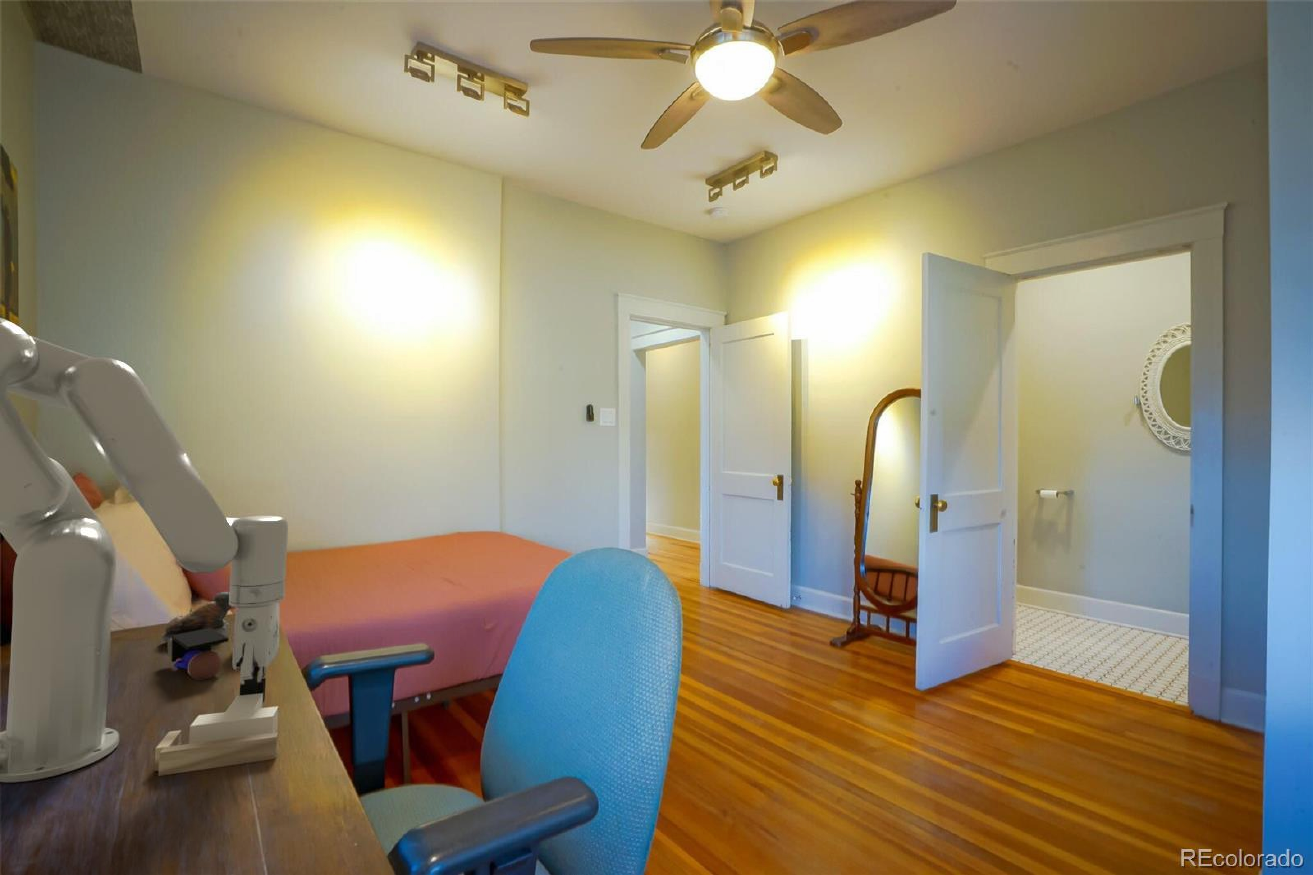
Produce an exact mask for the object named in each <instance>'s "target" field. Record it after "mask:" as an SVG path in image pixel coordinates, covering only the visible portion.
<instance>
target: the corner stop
mask: <svg viewBox="0 0 1313 875" xmlns="http://www.w3.org/2000/svg"><path fill="white" fill-rule="evenodd" d="M279 733H280V732H279V731H276V732H275V733H267V734H260V735H252V736H244V737H237V738H229V739H222V740H214V741H207V742H199V743H192V744H189V743H186V744H182V742H181V741H182V729H181V730H173V731H168V732H167V733H166V735H165V736H164V737H163V739H161V741H160V742H159V743H158V744H157V746H156V747H155V753H154V770H153V771H154V772H157V771H158V777H159V776H168V775H174V774H179V773H180V774H181V773H185V772H186V773H187V772H195V771H200V770H208V769H215V768H222V767H227V766H236V765H241V764H249V763H256V762H261V761H262V762H263V761H270V760H275V759H276V758H277V756H276V755H278V754H279V753H278V752H279V751H278V749H279Z"/></svg>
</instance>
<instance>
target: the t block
mask: <svg viewBox="0 0 1313 875" xmlns="http://www.w3.org/2000/svg"><path fill="white" fill-rule="evenodd" d="M262 703H263V704H264V702H263V693H260V694H251V695H241V696H240V695H236V697H235V698H234V699H233V701H232V703H230V705H229V707H228V708H227V709H226V711H222V712H215V713H207V714H199V715H198V716H197V717H196V718H195V720H194V721H193V722H192V723H191V724H190V725H189V737H188V738H189V739H188V740H189V742H188V744H192V743H199V742H207V741H214V740H222V739H229V738H237V737H244V736H252V735H260V734H267V733H275V732H278V721H279V719H278V718H279V705H278V706H277V705H276V706H268V707H263V704H262Z"/></svg>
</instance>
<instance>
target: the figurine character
mask: <svg viewBox="0 0 1313 875" xmlns="http://www.w3.org/2000/svg"><path fill="white" fill-rule="evenodd" d="M227 642H229V637H227V636H226V635H222V634H220V633H219V632H217V631H215V630H213V629H212V628H207V629H202V630H197V631H192V632H187V633H182V634H178V635H173V636H172V638H171V639H169V640H168V642H167V653H168V656H169V657H170V658H171V663H173V667H174V668H180V669H181V668H182V669H184V670H186V669H187V673H188V674H189V676H190V677H191V678H193V679H195V680H199V681H200V680H201V681H202V680H203V681H204V680H208V679H210V678H211V679H212V678H213V677H214V676H215V675H217V674H218V673H219V672H220V670H221V669H222V667H223V662H224V660H223V657H222V655H221V654H220V653H219V652H217V651H214V650H212V646H214V645H219V644H222V643H227Z"/></svg>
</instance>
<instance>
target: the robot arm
mask: <svg viewBox="0 0 1313 875" xmlns="http://www.w3.org/2000/svg"><path fill="white" fill-rule="evenodd" d="M8 393H11V394H14V395H17V396H20V397H23V398H26V399H30V400H33V401H37V402H40V403H43V404H47V405H49V406H53V407H56V408H60V409H64V410H67V411H71V412H72V413H73V415H74V417H76V419H77V421H78V422H79V423H80V425H81V427H82V428H83V431H85V433H86V434H87V436H88V437H89V439H90V440H91V442H92V443H93V445H94V446H95V448H96V449H97V450H98V452H99V453H100V455H101V457H102V458H103V459H104V461H105V463H106V464H107V466H108V468H109V469H110V471H111V472H112V473H113V475H114V477H116V479H117V480H118V482H119V484H120V485H121V486H122V488H124V490H125V491H127V492H128V494H130V495H131V496H132V497H133V499H134V500H135V501H136V502H137V503H138V505H139V506H140V508H141V509H142V511H143V512H144V513H145V514H146V516H147V517H148V519H149V520H150V521H151V523H152V525H153V526H154V527H155V529H156V531H157V532H158V534H159V535H160V536H161V538H162V539H163V541H164V543H165V544H166V545H167V547H168V549H169V550H170V553H171V555H172V556H173V557H174V558H175V560H176V561H177V563H178V564H179V565H180V566H181V567H182V568H183V569H185V570H187V571H189V572H192V573H196V574H211V573H215V572H217V571H218V572H219V571H220V570H222V569H224V568H225V567H227V566H228V565H229V564H230V574H229V575H230V576H229V591H228V592H229V605H230V606H231V607H234V608H235V618H234V628H233V638H232V639H233V640H232V662H231V663H232V668H233V669H234V670H235V671H239V669H240V683H239V696H241V695H251V694H260V693H263V703H262V705H263V704H264V702H265V699H266V680H267V677H265V676H266V670H267V669H266V668H268V667H269V666H270V665H271V664H272V662H273V660H274V659H275V657H276V656H277V654H278V652H279V648H280V603H282V602H283V601H284V600H285V595H286V576H287V575H286V574H287V571H286V570H287V555H288V538H289V537H288V535H289V524H288V521H287V519H285V518H284V517H282V516H277V515H254V516H253V515H251V516H246V517H226V516H225V514H224V513H223V511H222V509H221V508H220V507H219V504H218V503H217V501H216V500H215V498H214V497H213V495H212V493H211V492H210V490H209V489H208V488H207V486H206V484H205V483H204V481H203V480H202V478H201V476H200V475H199V473H198V472H197V470H196V467H195V466H194V464H193V462H192V460H191V458H190V456H189V454H188V453H187V452H186V450H185V449H184V447H183V445H182V443H181V442H180V440H179V439H178V437H177V436H176V434H175V433H174V432H173V430H172V428H171V426H170V424H169V423H168V421H167V420H166V418H165V416H164V415H163V413H162V412H161V410H160V409H159V407H158V405H157V404H156V402H155V400H154V399H153V397H152V395H151V394H150V393H149V390H148V389H147V388H146V386H145V384H144V383H143V381H142V380H141V378H140V377H139V375H138V374H137V373H136V371H134V369H133V368H132V367H131V366H129V365H128V364H126V363H125V362H122V361H121V360H117V359H114V358H110V357H101V356H100V357H91V356H89V355H86V354H83V353H80V352H78V351H77V352H76V351H74V350H71V349H68V348H65V347H62V346H59V345H57V344H55V343H54V344H53V343H52V342H48V341H46V340H43V339H40V338H38V337H35V336H33V335H30V334H27V332H26V331H24V329H22V327H20V326H18V325H16V324H15V323H13V322H12V321H9V320H8V319H5V318H2V317H0V533H1V535H2V536H3V538H4V539H5V540H6V542H7V543H8V544H9V545H10V547H11V548H12V549H13V551H14V552H15V553H16V555H17V556H16V559H15V563H14V567H13V568H14V569H13V577H12V578H13V579H12V620H11V621H12V624H11V625H12V626H11V639H10V640H11V643H10V664H9V681H8V696H7V714H6V727H5V730H3V731H0V783H23V782H31V781H37V780H42V779H47V778H50V777H55V776H58V775H61V774H65V773H68V772H72V771H75V770H78V769H80V768H83V767H87V766H88V765H90V764H93V763H95V762H96V761H99V760H101V759H102V758H104V757H105V756H108V755H109V754H110V753H112V752H113V751H114V750H115V748H116V749H117V747H118V745H119V743H120V733H119V731H117V730H116V729H114V728H109V727H106V720H107V719H106V717H107V702H108V701H107V700H108V699H107V698H108V684H109V668H110V666H109V665H110V664H109V663H110V651H111V650H110V649H111V648H110V647H111V630H112V629H111V628H112V626H111V625H112V612H113V597H114V587H115V578H116V572H117V571H116V569H117V554H116V548H115V545H114V541H113V539H112V536H111V534H110V533H109V531H108V530H107V528H106V527H105V525H104V523H103V522H102V521H101V519H100V518H99V517H98V515H97V514H96V512H95V511H94V509H93V507H92V506H91V505H90V503H89V501H88V500H87V499H86V497H85V496H84V494H83V493H82V491H81V490H80V488H79V487H78V486H77V484H76V482H75V481H74V479H73V478H72V476H70V474H69V472H68V471H67V469H65V467H64V466H63V465H62V464H60V462H58V461H57V460H56V459H53V458H51V457H49V455H47V453H46V452H45V451H44V450H43V448H42V447H41V445H40V444H39V443H38V441H37V440H36V439H35V437H34V436H33V435H32V434H33V433H31V431H30V430H29V429H28V426H27V424H26V423H25V421H24V419H23V418H22V416H21V415H20V414H19V413H18V411H17V409H16V408H15V406H14V405H13V404H12V402H11V400H10V398H9V394H8Z"/></svg>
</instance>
